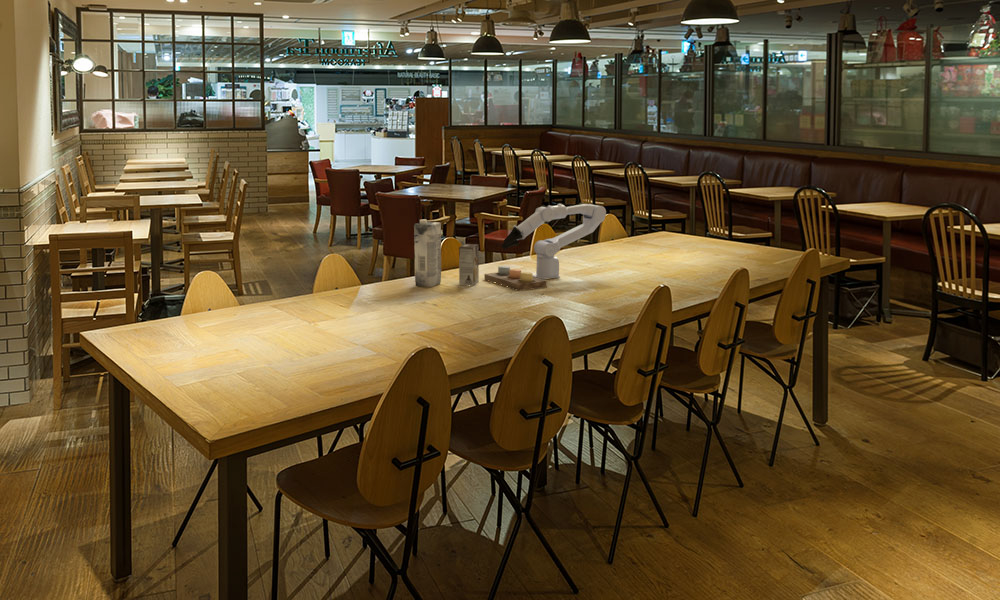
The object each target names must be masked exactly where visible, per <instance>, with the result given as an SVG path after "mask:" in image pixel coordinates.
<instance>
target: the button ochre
mask: <svg viewBox="0 0 1000 600" xmlns="http://www.w3.org/2000/svg"><path fill="white" fill-rule="evenodd" d="M533 275H534V274H533V272H526V271H525V272H521V278H520V281H521V282H524V283H527V282H533Z"/></svg>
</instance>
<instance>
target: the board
mask: <svg viewBox="0 0 1000 600" xmlns="http://www.w3.org/2000/svg"><path fill="white" fill-rule="evenodd" d="M483 275H484V279H486V280H485V281H487V280H489V281H488V282H490V281H492V282H491V283H493V282H496V283H495V284H497V283H498V284H497V285H500V284H502V285H501V286H503V285H504V287H506V286H508V287H507V288H509V287H510V288H509V289H512V288H514V289H513V290H515V289H517V290H516V291H524V289H526V290H533V288H534V289H540V288H542V289H543V288H547V286H548V282H547V280H546V279H539V278H536V277H533V282H527V283H524V282H521V281H520V278H519V279H511V278H509V275H505V276H501V275H498V271H497V272H489V273H484V274H483Z"/></svg>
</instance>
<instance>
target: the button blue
mask: <svg viewBox="0 0 1000 600" xmlns="http://www.w3.org/2000/svg"><path fill="white" fill-rule="evenodd" d="M497 270H498V271H497V272H498V275H501V276H505V275H509V270H511V266H508V265H501V266H498V267H497Z"/></svg>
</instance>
